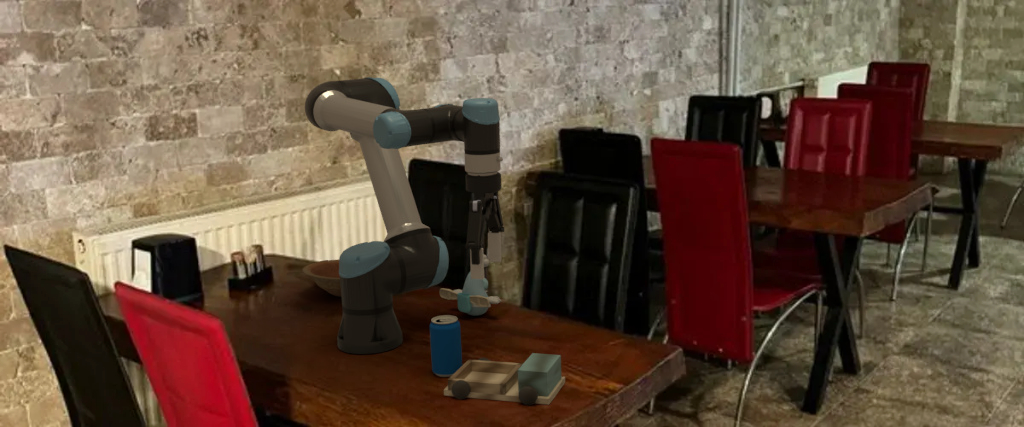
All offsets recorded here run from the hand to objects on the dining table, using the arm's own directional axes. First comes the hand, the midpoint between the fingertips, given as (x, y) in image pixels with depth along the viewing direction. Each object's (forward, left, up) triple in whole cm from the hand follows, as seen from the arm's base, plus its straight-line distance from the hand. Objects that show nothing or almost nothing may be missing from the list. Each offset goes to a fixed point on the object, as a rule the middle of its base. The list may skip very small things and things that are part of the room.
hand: (486, 269), depth 214 cm
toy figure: (-15, +31, -21) cm, 41 cm away
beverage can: (-7, -9, -21) cm, 24 cm away
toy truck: (+8, -15, -21) cm, 27 cm away
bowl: (-57, +44, -21) cm, 75 cm away
